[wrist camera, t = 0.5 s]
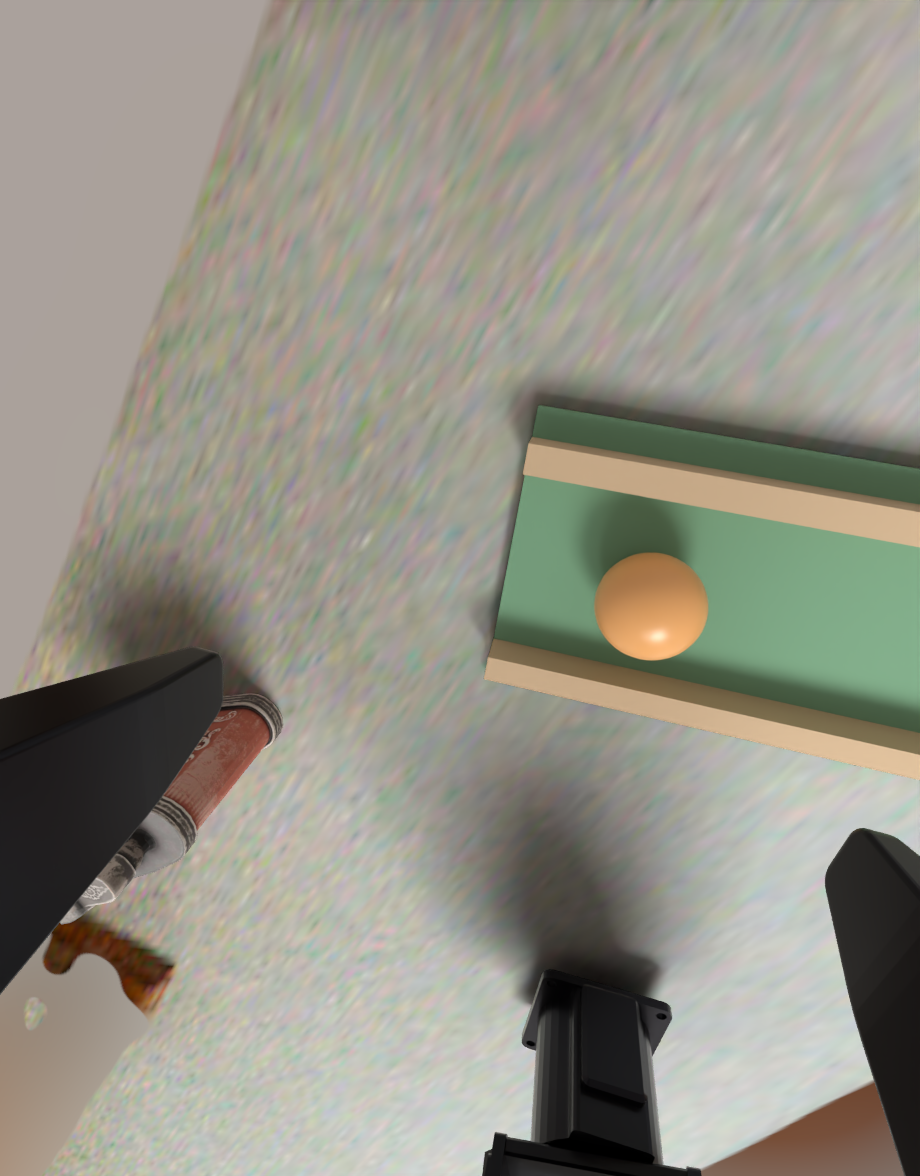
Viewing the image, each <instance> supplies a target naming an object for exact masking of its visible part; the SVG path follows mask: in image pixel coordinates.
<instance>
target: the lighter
mask: <svg viewBox="0 0 920 1176" xmlns="http://www.w3.org/2000/svg"><path fill="white" fill-rule="evenodd" d="M282 728H283V719H282V716H281V714H280V712H279V710H278V709H277V707H276V706H275V705H274V704H273V703H272V702H271V701H270V700H268V699H267V698H266V697H264V696H261V695H259V694H252V693H249V694H239V695H230V696H223V703H222V706H221V709H220V711H219V713H218V715H217V717H216V718H215V720H214V721H213V723H212V724H211V726H210V727H209V729H208V730H207V732H206V733H205V735H204V736H203V738H202V739H201V741H200V742H199V743H198V745H197V746H196V748H195V749H194V751H193V752H192V754H191V755H190V757H189V758H188V760H187V761H186V763H185V764H184V766H183V767H182V769H181V770H180V772H179V773H178V775H177V776H176V778H175V779H174V781H173V782H172V784H171V785H170V787H169V788H168V790H167V791H166V792H165V794H164V795H163V797H162V798H161V799H160V801H159V802H158V803H157V805H156V806H155V807H154V808H153V810H152V811H151V812H150V813H149V815H148V816H147V817H146V818H145V820H144V821H143V822H142V823H141V824H140V826H139V827H138V828H137V829H136V831H135V832H134V833H133V834H132V835H131V837H130V838H129V839H128V840H127V841H126V843H125V844H124V845H123V846H122V848H121V849H120V850H119V851H118V852H117V854H116V855H115V856H114V857H113V858H112V860H111V861H110V862H109V863H108V864H107V866H106V867H105V868H104V869H103V871H102V872H101V873H100V874H99V875H98V877H97V878H96V879H95V880H94V881H93V883H92V884H91V885H90V886H89V888H88V889H87V890H86V891H85V892H84V894H83V895H82V896H81V897H80V898H79V900H78V901H77V902H76V903H75V905H74V906H73V907H72V908H71V909H70V911H69V912H68V913H67V914H66V915H65V917H64V918H63V919H62V920H61V921H60V923H61V924H66V923H71V922H73V921H75V920H76V919H78V918H79V917H81V916H82V915H83V914H84V913H86V912H87V911H88V910H90V909H91V908H93V907H94V906H96V905H99V904H104V903H110V902H113V901H114V900H115V899H116V898H117V896H118V895H119V894H120V893H121V892H122V891H123V889H124V888H125V887H126V886H127V885H128V883H129V882H130V881H131V880H132V879H133V878H136V877H139V876H143V875H146V874H150V873H153V872H156V871H158V870H160V869H162V868H164V867H167V866H169V865H171V864H173V863H175V862H177V861H179V860H180V859H181V858H182V857H183V856H184V855H185V854H186V852H187V851H188V850H189V849H190V847H191V846H192V845H193V844H194V842H195V841H196V838H197V830H198V829H199V828H200V827H201V825H202V824H203V823H204V822H205V820H206V819H207V818H208V816H209V815H210V814H211V813H212V811H213V810H214V809H215V808H216V806H217V805H218V804H219V803H220V801H221V800H222V799H223V798H224V796H225V795H226V794H227V793H228V791H229V790H230V789H231V788H232V786H233V785H234V784H235V783H236V781H237V780H238V779H239V778H240V776H241V775H242V774H243V773H244V771H245V770H246V769H247V768H248V766H249V765H250V764H251V763H252V761H253V760H254V759H255V758H256V756H257V755H258V754H259V753H260V751H261V750H263V749H265V748H267V747H269V746H270V745H271V744H272V743H273V741H274V740H275V739H276V738H277V736H278V735H279V734H280V733H281V731H282Z"/></svg>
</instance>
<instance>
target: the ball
mask: <svg viewBox="0 0 920 1176" xmlns="http://www.w3.org/2000/svg"><path fill="white" fill-rule="evenodd" d="M594 611H595V617H596V621H597V624H598V626H599V629H600V630H601V632H602V634H603V635H604V637H605V638H606V639H607V641H608V642H609V643H610V644H611V645H612V646H614V647H615V648H616V649H617V650H619V651H620V652H622V653H624V654H626V655H628V656H631V657H634V658H637V659H642V660H662V659H667V658H670V657H673V656H676V655H678V654H680V653H682V652H683V651H685V650H686V649H688V648H689V647H690V646H691V645H692V644H693V643H694V642H695V641H696V640H697V639H698V637H699V636H700V634H701V633H702V631H703V629H704V627H705V624H706V621H707V617H708V597H707V593H706V590H705V587H704V585H703V583H702V581H701V579H700V578H699V577H698V575H697V574H696V573H695V571H694V570H693V569H692V568H691V567H689V566H688V565H687V564H685V563H684V562H682V561H681V560H679V559H677V558H675V557H672V556H670V555H666V554H662V553H639V554H635V555H632V556H629V557H627V558H625V559H623V560H621V561H619V562H618V563H616V564H615V565H614V566H612V567H611V568H610V569H609V570H608V571H607V572H606V574H605V575H604V576H603V578H602V579H601V581H600V583H599V585H598V588H597V591H596V594H595V600H594Z"/></svg>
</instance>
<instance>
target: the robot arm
mask: <svg viewBox="0 0 920 1176" xmlns="http://www.w3.org/2000/svg"><path fill="white" fill-rule="evenodd" d="M222 703H223V659H222V657H221V655H220V654H219V653H217V652H214V651H211V650H207V649H204V648H200V647H188V648H185V649H181V650H178V651H174V652H170V653H167V654H163V655H159V656H156V657H152V658H148V659H145V660H141V661H137V662H134V663H130V664H126V665H123V666H119V667H115V668H112V669H108V670H104V671H101V672H97V673H94V674H90V675H86V676H83V677H79V678H75V679H72V680H68V681H64V682H61V683H57V684H53V685H50V686H46V687H42V688H39V689H35V690H31V691H28V692H24V693H20V694H17V695H13V696H10V697H6V698H3V699H0V994H1V993H2V992H3V991H4V989H5V988H6V987H7V986H8V984H9V983H10V982H11V981H12V980H13V978H14V977H15V976H16V975H17V973H18V972H19V971H20V970H21V969H22V968H23V966H24V965H25V964H26V963H27V961H28V960H29V959H30V958H31V957H32V955H33V954H34V953H35V952H36V951H37V949H38V948H39V947H40V945H41V944H42V943H43V942H44V941H45V940H46V938H47V937H48V936H49V935H50V934H51V932H52V931H53V930H54V929H55V928H56V926H57V925H58V924H59V923H60V921H61V920H62V919H63V918H64V917H65V915H66V914H67V913H68V912H69V911H70V909H71V908H72V907H73V906H74V905H75V903H76V902H77V901H78V900H79V898H80V897H81V896H82V895H83V894H84V892H85V891H86V890H87V889H88V888H89V886H90V885H91V884H92V883H93V881H94V880H95V879H96V878H97V877H98V875H99V874H100V873H101V872H102V871H103V869H104V868H105V867H106V866H107V864H108V863H109V862H110V861H111V860H112V858H113V857H114V856H115V855H116V854H117V852H118V851H119V850H120V849H121V848H122V846H123V845H124V844H125V843H126V841H127V840H128V839H129V838H130V837H131V835H132V834H133V833H134V832H135V831H136V829H137V828H138V827H139V826H140V824H141V823H142V822H143V821H144V820H145V818H146V817H147V816H148V815H149V813H150V812H151V811H152V810H153V808H154V807H155V806H156V805H157V803H158V802H159V801H160V799H161V798H162V797H163V795H164V794H165V792H166V791H167V790H168V788H169V787H170V785H171V784H172V782H173V781H174V779H175V778H176V776H177V775H178V773H179V772H180V770H181V769H182V767H183V766H184V764H185V763H186V761H187V760H188V758H189V757H190V755H191V754H192V752H193V751H194V749H195V748H196V746H197V745H198V743H199V742H200V741H201V739H202V738H203V736H204V735H205V733H206V732H207V730H208V729H209V727H210V726H211V724H212V723H213V721H214V720H215V718H216V717H217V715H218V713H219V711H220V709H221V706H222ZM825 888H826V893H827V898H828V902H829V907H830V912H831V916H832V921H833V925H834V930H835V934H836V939H837V944H838V948H839V953H840V957H841V962H842V967H843V971H844V976H845V980H846V985H847V989H848V994H849V998H850V1002H851V1006H852V1010H853V1014H854V1017H855V1021H856V1024H857V1028H858V1031H859V1034H860V1038H861V1041H862V1044H863V1047H864V1050H865V1054H866V1057H867V1060H868V1063H869V1066H870V1069H871V1072H872V1076H873V1079H874V1082H875V1085H876V1088H877V1091H878V1094H879V1098H880V1101H881V1104H882V1107H883V1110H884V1113H885V1116H886V1119H887V1122H888V1126H889V1129H890V1132H891V1135H892V1138H893V1142H894V1144H895V1148H896V1151H897V1154H898V1157H899V1160H900V1164H901V1166H902V1170H903V1173H904V1176H920V856H919V855H918V854H916V853H915V852H914V851H913V850H911V849H910V848H909V847H908V846H906V845H905V844H904V843H903V842H901V841H900V840H899V839H897V838H895V837H893V836H891V835H888V834H884V833H881V832H877V831H873V830H870V829H866V828H859V829H856V830H855V831H853V832H852V833H851V834H850V835H849V837H848V838H847V840H846V841H845V843H844V844H843V846H842V847H841V849H840V850H839V852H838V853H837V855H836V856H835V858H834V859H833V861H832V862H831V864H830V865H829V867H828V869H827V872H826V876H825ZM671 1020H672V1013H671V1008H670V1006H669V1005H668V1004H667V1003H665V1002H662V1001H658V1000H655V999H652V998H648V997H645V996H641V995H638V994H634V993H631V992H628V991H624V990H621V989H617V988H614V987H611V986H607V985H604V984H600V983H597V982H593V981H590V980H587V979H583V978H580V977H576V976H573V975H570V974H566V973H563V972H559V971H556V970H551V969H548V970H545V971H543V973H542V976H541V979H540V982H539V985H538V988H537V991H536V994H535V997H534V1000H533V1003H532V1006H531V1009H530V1012H529V1015H528V1018H527V1021H526V1024H525V1027H524V1030H523V1033H522V1044H523V1045H524V1046H525V1047H527V1048H529V1049H532V1050H536V1060H535V1077H534V1094H533V1110H532V1127H531V1141H527V1140H521V1139H515V1138H510V1137H508V1136H507V1134H503V1133H498V1132H495V1135H494V1141H493V1147H492V1149H491V1150H489V1151H486V1152H485V1157H484V1165H483V1174H482V1176H701V1170H700V1169H699V1168H693V1167H688V1166H687V1167H686V1169H682V1168H676V1167H671V1166H665V1165H663V1156H662V1147H661V1137H660V1128H659V1118H658V1109H657V1099H656V1090H655V1081H654V1071H653V1062H652V1056H653V1054H654V1052H655V1050H656V1048H657V1046H658V1044H659V1042H660V1041H661V1039H662V1037H663V1035H664V1033H665V1031H666V1029H667V1027H668V1025H669V1023H670V1022H671Z"/></svg>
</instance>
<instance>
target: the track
mask: <svg viewBox="0 0 920 1176" xmlns="http://www.w3.org/2000/svg"><path fill="white" fill-rule="evenodd" d="M523 475H525V477H524V482H523V487H522V492H521V498H520V503H519V508H518V513H517V519H516V524H515V529H514V534H513V539H512V545H511V550H510V555H509V560H508V566H507V571H506V576H505V581H504V587H503V592H502V597H501V602H500V607H499V613H498V618H497V623H496V628H495V634H494V639H493V642H492V645H491V649H490V652H489V656H488V660H487V665H486V671H485V676H484V679H486V680H490V681H494V682H498V683H502V684H507V685H511V686H515V687H520V688H524V689H528V690H533V691H537V692H541V693H546V694H550V695H554V696H559V697H563V698H567V699H572V700H576V701H580V702H584V703H589V704H593V705H597V706H602V707H606V708H610V709H615V710H619V711H623V712H628V713H632V714H636V715H641V716H645V717H649V718H653V719H658V720H662V721H666V722H671V723H675V724H679V725H684V726H688V727H692V728H697V729H701V730H705V731H710V732H714V733H718V734H723V735H727V736H731V737H735V738H740V739H744V740H748V741H753V742H757V743H761V744H766V745H770V746H774V747H779V748H783V749H787V750H792V751H796V752H800V753H805V754H809V755H813V756H817V757H822V758H826V759H830V760H835V761H839V762H843V763H848V764H852V765H856V766H861V767H865V768H869V769H874V770H878V771H882V772H887V773H891V774H895V775H899V776H904V777H908V778H912V779H917V780H920V469H919V468H913V467H907V466H901V465H895V464H889V463H883V462H877V461H871V460H865V459H860V458H854V457H848V456H842V455H836V454H830V453H824V452H818V451H812V450H806V449H800V448H794V447H788V446H782V445H776V444H770V443H764V442H758V441H752V440H746V439H740V438H734V437H728V436H722V435H716V434H710V433H704V432H698V431H692V430H686V429H680V428H674V427H669V426H663V425H657V424H651V423H645V422H639V421H633V420H627V419H621V418H615V417H609V416H603V415H597V414H591V413H585V412H579V411H573V410H567V409H561V408H555V407H549V406H543V405H539V406H538V409H537V414H536V419H535V425H534V430H533V435H532V438H531V440H530V442H529V444H528V449H527V454H526V460H525V465H524V470H523ZM639 553H662V554H666V555H670V556H672V557H675V558H677V559H679V560H681V561H682V562H684V563H685V564H687V565H688V566H689V567H691V568H692V569H693V570H694V571H695V573H696V574H697V575H698V577H699V578H700V579H701V581H702V583H703V585H704V587H705V590H706V593H707V597H708V617H707V621H706V624H705V627H704V629H703V631H702V633H701V634H700V636H699V637H698V639H697V640H696V641H695V642H694V643H693V644H692V645H691V646H690V647H689V648H688V649H686V650H685V651H683V652H682V653H680V654H678V655H676V656H673V657H670V658H667V659H662V660H642V659H637V658H634V657H631V656H628V655H626V654H624V653H622V652H620V651H619V650H617V649H616V648H615V647H614V646H612V645H611V644H610V643H609V642H608V641H607V639H606V638H605V637H604V635H603V634H602V632H601V630H600V629H599V626H598V624H597V621H596V617H595V611H594V600H595V594H596V591H597V588H598V585H599V583H600V581H601V579H602V578H603V576H604V575H605V574H606V572H607V571H608V570H609V569H610V568H611V567H612V566H614V565H615V564H616V563H618V562H619V561H621V560H623V559H625V558H627V557H629V556H632V555H635V554H639Z"/></svg>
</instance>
